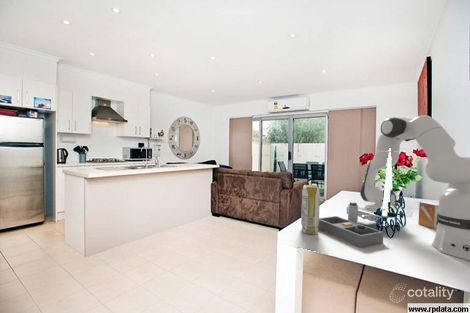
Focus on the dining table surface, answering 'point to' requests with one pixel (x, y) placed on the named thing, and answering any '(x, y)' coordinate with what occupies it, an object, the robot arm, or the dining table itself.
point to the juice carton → (310, 209)
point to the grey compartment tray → (350, 231)
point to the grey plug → (353, 212)
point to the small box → (428, 214)
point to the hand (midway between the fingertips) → (355, 214)
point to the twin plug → (360, 230)
